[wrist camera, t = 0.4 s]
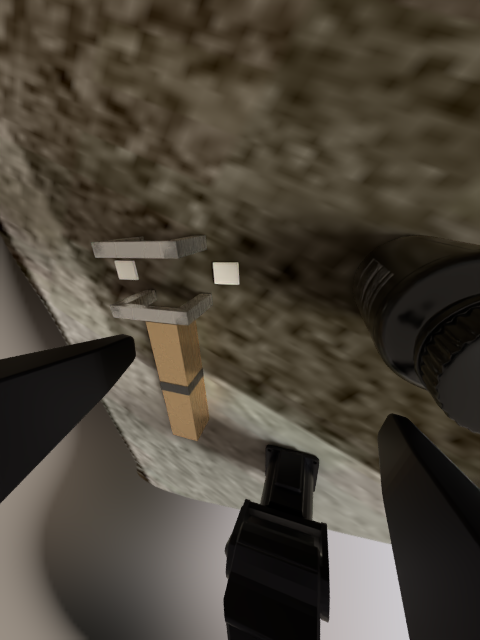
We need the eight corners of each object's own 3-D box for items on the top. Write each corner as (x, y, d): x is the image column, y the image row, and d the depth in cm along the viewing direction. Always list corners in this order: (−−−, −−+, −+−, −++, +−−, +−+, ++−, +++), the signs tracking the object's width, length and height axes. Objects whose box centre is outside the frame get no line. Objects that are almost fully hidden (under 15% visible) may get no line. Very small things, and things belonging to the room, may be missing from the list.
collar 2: (212, 305, 23) (188, 325, 19) (147, 300, 25) (113, 317, 21) (211, 293, 22) (186, 312, 18) (145, 289, 25) (109, 305, 21)
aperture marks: (239, 284, 21) (238, 284, 21) (121, 278, 25) (119, 279, 25) (238, 262, 20) (237, 263, 20) (116, 260, 24) (114, 261, 24)
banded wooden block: (209, 418, 31) (197, 441, 28) (186, 413, 32) (172, 434, 29) (194, 311, 24) (176, 325, 21) (166, 308, 25) (145, 321, 22)
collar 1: (207, 249, 21) (178, 258, 16) (136, 249, 23) (95, 257, 19) (205, 235, 20) (175, 241, 16) (133, 237, 23) (90, 242, 18)
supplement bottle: (387, 337, 19) (468, 485, 9) (333, 279, 18) (350, 364, 8) (484, 283, 16) (809, 423, 5) (420, 210, 15) (645, 204, 5)
